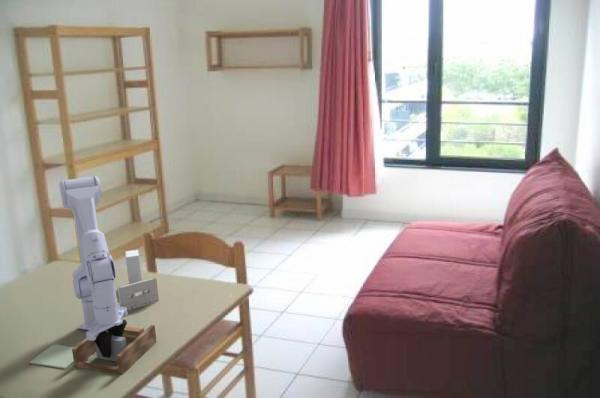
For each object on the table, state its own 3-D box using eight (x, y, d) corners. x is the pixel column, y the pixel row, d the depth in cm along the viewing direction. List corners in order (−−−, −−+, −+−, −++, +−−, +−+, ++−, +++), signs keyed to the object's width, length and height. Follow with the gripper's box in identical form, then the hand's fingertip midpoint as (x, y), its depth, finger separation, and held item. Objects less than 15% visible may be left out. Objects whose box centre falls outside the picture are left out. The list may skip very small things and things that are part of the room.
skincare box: (129, 284, 196) (125, 251, 193) (142, 282, 197) (138, 249, 194) (129, 291, 190) (125, 257, 187) (143, 289, 192) (139, 255, 188)
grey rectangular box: (101, 354, 153) (98, 333, 151) (128, 358, 150) (125, 337, 149) (96, 358, 151) (93, 337, 149) (123, 362, 149) (121, 341, 147)
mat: (53, 345, 158) (53, 344, 158) (88, 350, 155) (88, 349, 154) (29, 363, 150) (29, 362, 149) (65, 369, 146) (65, 367, 146)
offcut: (117, 338, 161) (115, 323, 160) (146, 342, 158) (144, 327, 157) (112, 342, 159) (110, 328, 157) (141, 346, 156) (139, 331, 155)
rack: (112, 336, 162) (109, 319, 161) (156, 342, 158) (154, 325, 156) (74, 366, 147) (71, 349, 146) (122, 374, 143) (120, 356, 142)
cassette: (157, 299, 184) (155, 276, 182) (159, 301, 183) (157, 278, 181) (119, 310, 178) (116, 286, 176) (121, 312, 176) (118, 288, 174)
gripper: (101, 318, 139) (108, 369, 142) (135, 293, 152) (140, 340, 156) (76, 315, 141) (83, 365, 144) (111, 290, 154) (117, 337, 158)
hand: (111, 352), depth 150 cm, fingers open, 4 cm apart
